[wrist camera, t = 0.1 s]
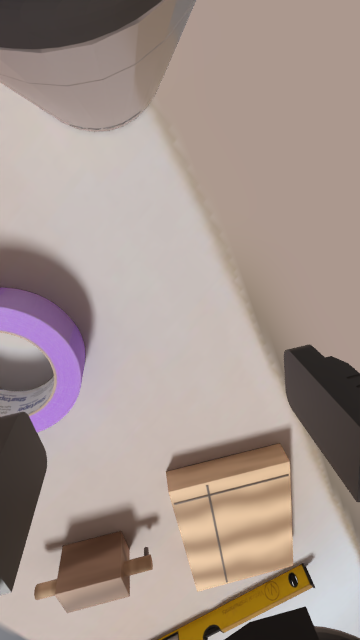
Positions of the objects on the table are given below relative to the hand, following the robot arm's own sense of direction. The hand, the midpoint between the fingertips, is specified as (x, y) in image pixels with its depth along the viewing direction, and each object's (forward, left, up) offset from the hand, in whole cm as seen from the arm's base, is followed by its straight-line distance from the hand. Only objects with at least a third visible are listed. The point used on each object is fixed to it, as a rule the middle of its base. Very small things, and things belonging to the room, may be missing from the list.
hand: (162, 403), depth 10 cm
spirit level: (+57, -2, -18) cm, 59 cm away
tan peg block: (+34, -13, -17) cm, 40 cm away
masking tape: (+6, -12, -18) cm, 22 cm away
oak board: (+34, +4, -17) cm, 38 cm away
